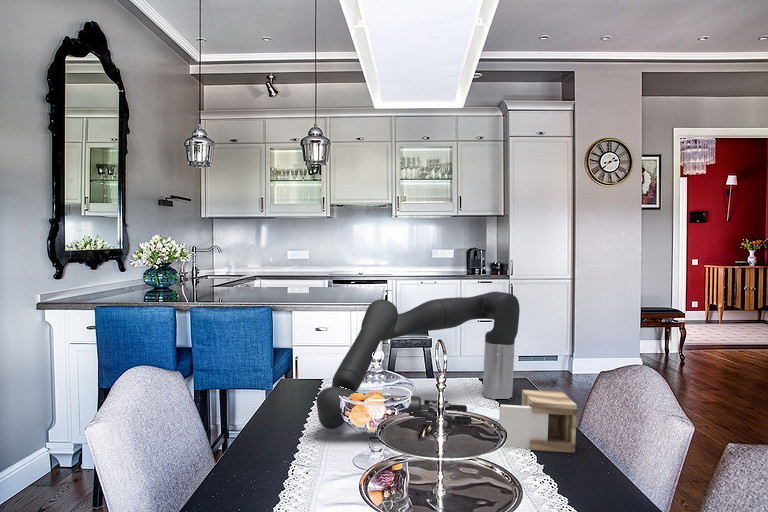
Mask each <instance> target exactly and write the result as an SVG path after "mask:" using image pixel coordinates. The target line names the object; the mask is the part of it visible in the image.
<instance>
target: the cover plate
mask: <svg viewBox="0 0 768 512" xmlns="http://www.w3.org/2000/svg"><path fill="white" fill-rule="evenodd" d="M499 410H500V418H499V423H498V425H499V424H500V425H501V426H502V427H503V428H504V429H505V430H506V432H507V441H506V443H505V445H504V446H503V447H505V448H522V449H523V448H524V449H530V441H531V440H538V441H547V439H548V416H549V414H543V413H532V406H521V405H516V404H515V405H513V404H500V405H499Z"/></svg>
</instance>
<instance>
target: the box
mask: <svg viewBox="0 0 768 512" xmlns="http://www.w3.org/2000/svg"><path fill="white" fill-rule="evenodd" d="M520 406H532V413H543V414H549V416H548V439H547V441H538V440H531V441H530V448H529V449H530V451H542V452H543V451H544V452H557V453H558V452H560V453H561V452H562V453H576V437H577V436H576V434H577V433H576V432H577V431H576V430H577V411H578V410H577V409H578V405H577V403H575V402H574V401H573V400H572V399H571V398H570V397H569V396H567V395H566V394H565V393H564V392H563V391H554V390H553V391H552V390H537V389H536V390H535V389H534V390H533V389H521V405H520Z"/></svg>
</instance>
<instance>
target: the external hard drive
mask: <svg viewBox="0 0 768 512" xmlns="http://www.w3.org/2000/svg"><path fill="white" fill-rule="evenodd" d="M464 405H466V406H467V411H470V412H474V413H478V414H482V415H485V416H487V417H490V418H492V419H494V420H496V421H497V422H499V418H500V409H495V408H487V407H483V406H477V405H471V404H464Z"/></svg>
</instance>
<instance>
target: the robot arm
mask: <svg viewBox="0 0 768 512" xmlns="http://www.w3.org/2000/svg"><path fill="white" fill-rule="evenodd" d="M520 309H521V308H520V303H519V299H518V297H516V295H514V294H513V293H510V292H502V291H489V292H486V293H483V294H478V295H474V296H469V297H468V296H467V297H463V296H460V297H444V298H436V299H431V300H428V301H425V302H423V303H421V304H418V305H417V306H415V307H413V308H411V309H409V310H407V311H405V312H402V313H401V312H400V313H398V312H399V311H398V309H397V306H396V305H395V304H394V303H393V302H391V301H390V300H387V299H385V298H384V299H379V298H378V299H376V300H373V301H372V302H371V303H370V304H369V305H368V307H367V308H366V311H365V313H364V316H363V319H362V321H361V327H360V330H359V332H358V335H357V336H356V337H355V340H354V342H353V343H352V344H351V346H350V347H349V350H348V351H347V352H346V354H345V356H344V358H343V359H342V361H341V362H340V364H339V366H338V368H337V369H336V372H335V373H334V375H333V377H332V381H331V386H330V387H327V388H324V389H322V390H321V391H320V392H319V393H318V394H317V397H316V400H315V401H316V409H317V417H318V420H319V421H318V422H319V423H320V424H321V426H322V427H323V428H325V429H327V430H336V429H338V428H340V427H341V426H342V425H344V423H345V422H346V421H344V419H343V417H342V415H341V413H342V412H341V409H340V398H339V395H340V396H345V397H349V396H350V395H351V394H353V393H360V392H358V390H359V389H360V386H361V385H362V382H363V381H364V379H365V377H366V376H367V373H368V371H369V368H370V366H371V363H372V362H373V359H374V357H372V353H373V352H374V353H373V356H375V353H376V352H377V350H378V347H379V345H380V343H381V342H384V341H389V340H392V339H395V338H399V337H404V336H407V335H412V334H417V333H418V334H420V333H425V332H430V331H432V332H433V331H439V330H447V329H453V328H456V327H457V328H458V327H459V326H461V325H463V324H465V323H467V322H468V321H469V322H470V321H471V320H472V321H473V320H492V321H493V327H492V329H491V330H489V331H487V332H486V333H485V336H484V358H483V359H484V360H483V362H484V363H483V375H482V376H483V380H482V396H483V397H484V396H485V397H484V398H487V399H490V398H491V399H490V400H495V399H509V398H511V397H512V398H513V389H514V387H513V385H514V367H515V366H514V363H515V361H514V360H515V344H516V343H515V340H516V337H517V335H518V333H519V322H520V311H521V310H520ZM340 386H341V387H344V388H341V387H340ZM345 388H347V389H345ZM349 389H350V390H349ZM356 391H357V392H356ZM382 396H383V397H384V398H386V399H391V398H403V397H406V396H407V395H398V394H397V395H396V394H388V395H382ZM410 396H411V403H410V405H409V407H408V408H407V409H406V410H405V411H404V412H406V413H409V415H410V416H414V417H426V422H431V421H436V420H437V417H436V416H437V411H435V410H437V401H438V400H437V399H436V400H432V399H425V400H424V401H423V404H422V398H421V397H420V396H416V395H415V396H414V395H410ZM509 400H510V399H509ZM444 401H445V410H457V411H463V412H467V406H466V405H465V404H452V403H451V402H449V401H447V400H444ZM422 410H428V411H422ZM411 412H413V413H411ZM472 420H473V418H471V417H470V416H461V415H456V414H447V412H446V411H444V422H445V424H447V426H445V428H452V429H453V428H454V427H455V426H454V425H458V426H457V427H463V425H469V424H471V425H472ZM453 426H454V427H453Z"/></svg>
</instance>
